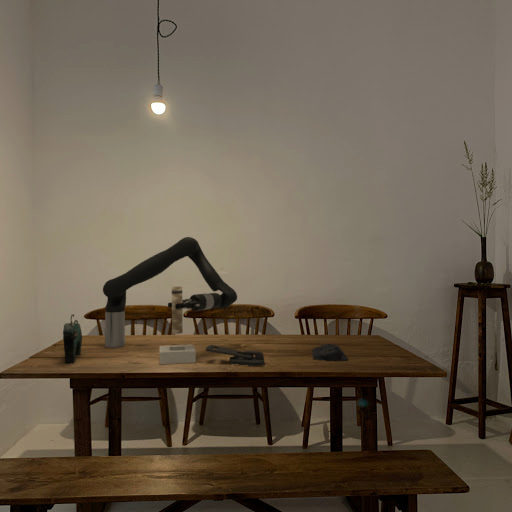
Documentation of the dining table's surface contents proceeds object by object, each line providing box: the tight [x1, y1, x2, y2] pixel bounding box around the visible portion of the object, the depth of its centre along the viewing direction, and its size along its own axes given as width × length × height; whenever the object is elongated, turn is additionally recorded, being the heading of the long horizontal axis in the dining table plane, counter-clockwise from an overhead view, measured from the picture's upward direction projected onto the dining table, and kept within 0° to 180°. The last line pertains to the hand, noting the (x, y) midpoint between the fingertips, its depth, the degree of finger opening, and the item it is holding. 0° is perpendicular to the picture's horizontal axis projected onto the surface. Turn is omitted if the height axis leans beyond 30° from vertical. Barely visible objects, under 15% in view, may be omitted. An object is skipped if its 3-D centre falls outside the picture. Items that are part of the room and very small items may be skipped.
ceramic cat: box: [62, 313, 83, 365], centre depth 207 cm, size 20×6×20 cm, turn 9°
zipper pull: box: [205, 344, 265, 367], centre depth 201 cm, size 9×7×25 cm
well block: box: [159, 344, 197, 365], centre depth 206 cm, size 15×13×5 cm
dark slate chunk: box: [311, 343, 349, 362], centre depth 215 cm, size 15×22×5 cm
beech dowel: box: [171, 286, 184, 335], centre depth 205 cm, size 5×5×20 cm
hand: (172, 305), depth 203 cm, fingers closed on beech dowel, 4 cm apart
